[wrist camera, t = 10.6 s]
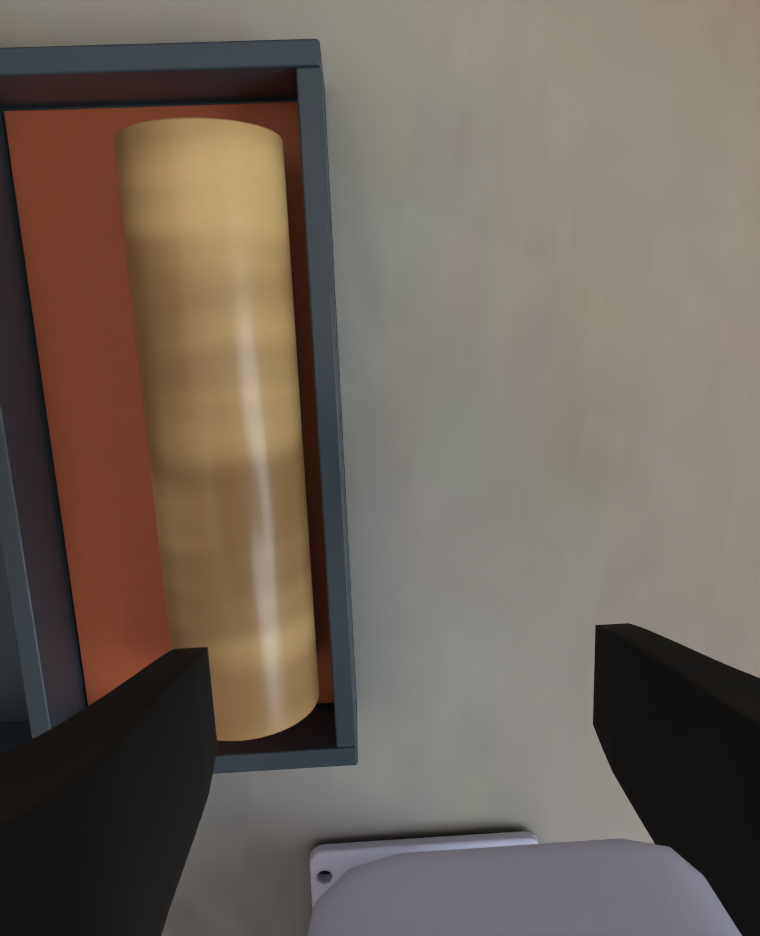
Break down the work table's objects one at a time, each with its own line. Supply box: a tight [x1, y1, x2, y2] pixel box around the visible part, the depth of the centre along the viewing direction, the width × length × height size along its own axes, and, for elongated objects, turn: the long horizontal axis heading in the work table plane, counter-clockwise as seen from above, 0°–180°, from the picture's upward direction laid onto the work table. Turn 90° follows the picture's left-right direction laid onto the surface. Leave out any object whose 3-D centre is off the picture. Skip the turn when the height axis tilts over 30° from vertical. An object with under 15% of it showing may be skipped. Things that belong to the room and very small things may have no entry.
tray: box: [0, 39, 358, 774], centre depth 19 cm, size 19×18×3 cm
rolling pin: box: [113, 117, 319, 741], centre depth 18 cm, size 15×4×4 cm
